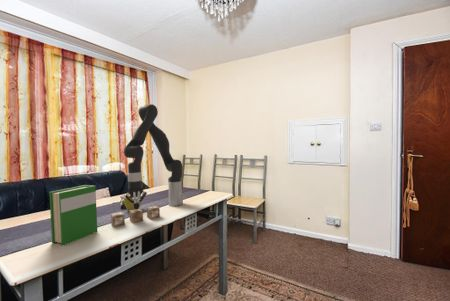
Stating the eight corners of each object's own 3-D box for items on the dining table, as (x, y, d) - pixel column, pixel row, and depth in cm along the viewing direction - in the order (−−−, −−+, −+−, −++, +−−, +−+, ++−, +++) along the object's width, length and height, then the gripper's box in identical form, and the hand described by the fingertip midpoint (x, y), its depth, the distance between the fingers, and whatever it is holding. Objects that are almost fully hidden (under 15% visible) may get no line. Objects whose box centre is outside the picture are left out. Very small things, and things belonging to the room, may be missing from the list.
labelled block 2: (156, 215, 144) (156, 205, 144) (159, 217, 139) (159, 207, 138) (146, 217, 140) (146, 207, 140) (150, 219, 135) (149, 209, 135)
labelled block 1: (122, 221, 132) (122, 211, 132) (124, 224, 127) (124, 214, 127) (111, 224, 129) (110, 213, 129) (113, 227, 124) (112, 216, 124)
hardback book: (62, 245, 102) (60, 193, 101) (51, 243, 105) (49, 192, 104) (97, 231, 119) (95, 185, 118) (87, 229, 121) (85, 185, 120)
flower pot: (142, 208, 160) (142, 195, 159) (136, 211, 151) (136, 198, 151) (130, 208, 161) (130, 195, 160) (124, 211, 152) (123, 198, 152)
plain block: (140, 218, 138) (139, 208, 138) (143, 221, 133) (142, 210, 133) (129, 220, 135) (129, 210, 134) (132, 223, 130) (131, 212, 129)
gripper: (144, 177, 140) (145, 205, 140) (121, 180, 132) (123, 209, 133) (148, 179, 134) (149, 208, 134) (124, 182, 126) (125, 213, 127)
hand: (136, 209), depth 134 cm, fingers closed
